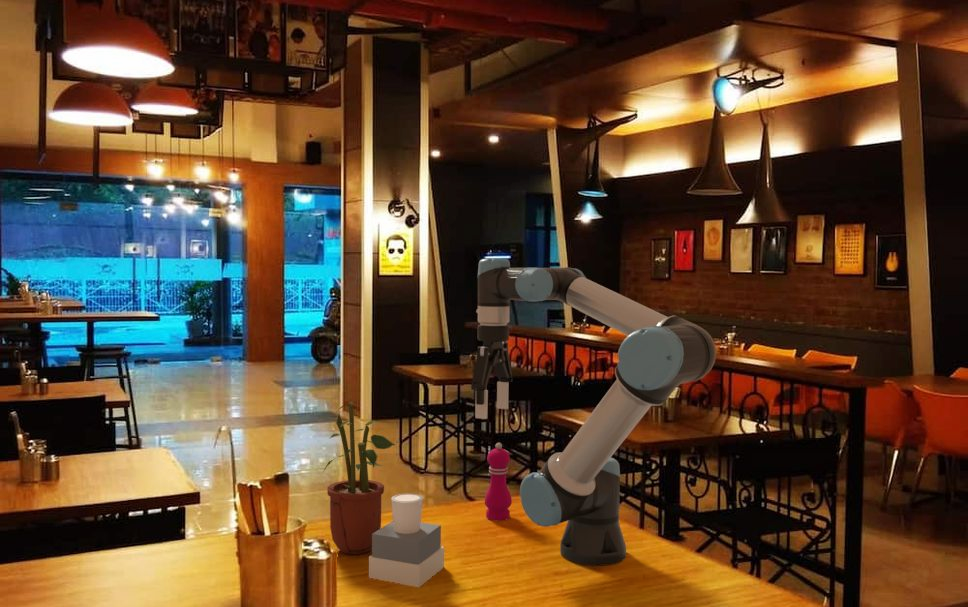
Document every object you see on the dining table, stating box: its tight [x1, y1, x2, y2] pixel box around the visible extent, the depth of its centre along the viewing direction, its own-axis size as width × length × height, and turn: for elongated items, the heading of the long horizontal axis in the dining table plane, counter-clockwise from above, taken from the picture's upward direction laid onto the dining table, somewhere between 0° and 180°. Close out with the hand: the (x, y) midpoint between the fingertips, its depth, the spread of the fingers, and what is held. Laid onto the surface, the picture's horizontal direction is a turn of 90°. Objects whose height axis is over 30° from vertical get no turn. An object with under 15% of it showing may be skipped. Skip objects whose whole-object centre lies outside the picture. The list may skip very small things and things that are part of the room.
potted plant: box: [322, 402, 396, 555], centre depth 188 cm, size 17×16×35 cm
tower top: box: [371, 520, 442, 565], centre depth 172 cm, size 11×11×5 cm
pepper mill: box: [484, 442, 513, 521], centre depth 211 cm, size 7×7×20 cm
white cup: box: [390, 493, 424, 534], centre depth 172 cm, size 7×7×7 cm
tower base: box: [368, 545, 445, 588], centre depth 173 cm, size 12×12×5 cm
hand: (492, 413), depth 189 cm, fingers open, 13 cm apart
